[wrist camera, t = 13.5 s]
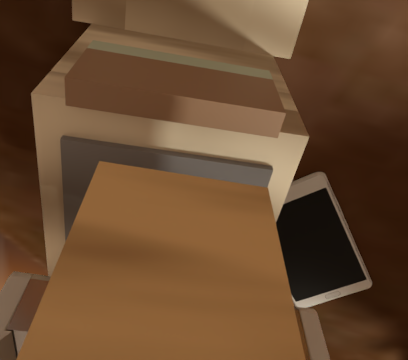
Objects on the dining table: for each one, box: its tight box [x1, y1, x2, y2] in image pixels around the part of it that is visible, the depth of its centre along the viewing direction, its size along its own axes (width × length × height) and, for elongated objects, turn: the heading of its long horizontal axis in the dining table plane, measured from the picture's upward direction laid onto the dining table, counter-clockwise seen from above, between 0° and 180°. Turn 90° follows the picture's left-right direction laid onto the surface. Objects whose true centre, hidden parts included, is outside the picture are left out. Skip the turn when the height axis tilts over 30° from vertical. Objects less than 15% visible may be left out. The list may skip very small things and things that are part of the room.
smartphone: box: [276, 172, 372, 308], centre depth 33 cm, size 8×1×15 cm
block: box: [16, 161, 306, 360], centre depth 10 cm, size 5×5×6 cm
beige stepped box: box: [31, 0, 309, 277], centre depth 17 cm, size 25×12×11 cm, turn 170°
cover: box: [64, 40, 286, 138], centre depth 18 cm, size 14×7×4 cm, turn 170°
